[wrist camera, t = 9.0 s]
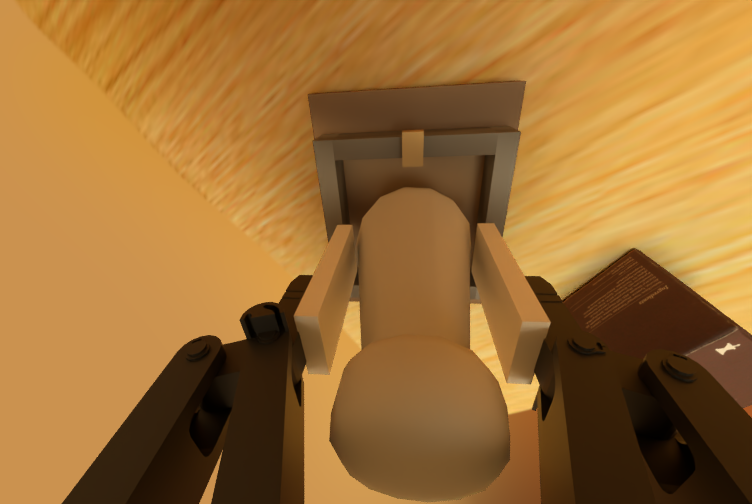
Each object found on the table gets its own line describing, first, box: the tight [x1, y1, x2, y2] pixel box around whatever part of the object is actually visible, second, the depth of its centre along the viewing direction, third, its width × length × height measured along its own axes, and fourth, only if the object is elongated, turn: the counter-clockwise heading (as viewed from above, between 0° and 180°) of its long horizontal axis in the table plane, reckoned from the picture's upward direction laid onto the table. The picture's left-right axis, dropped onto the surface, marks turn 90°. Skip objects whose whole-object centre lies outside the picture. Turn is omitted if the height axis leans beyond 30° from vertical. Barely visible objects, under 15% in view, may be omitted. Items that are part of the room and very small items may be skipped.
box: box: [562, 249, 752, 408], centre depth 18 cm, size 6×6×7 cm
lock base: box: [308, 81, 526, 304], centre depth 18 cm, size 14×11×4 cm
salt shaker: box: [329, 187, 510, 502], centre depth 12 cm, size 6×6×13 cm
